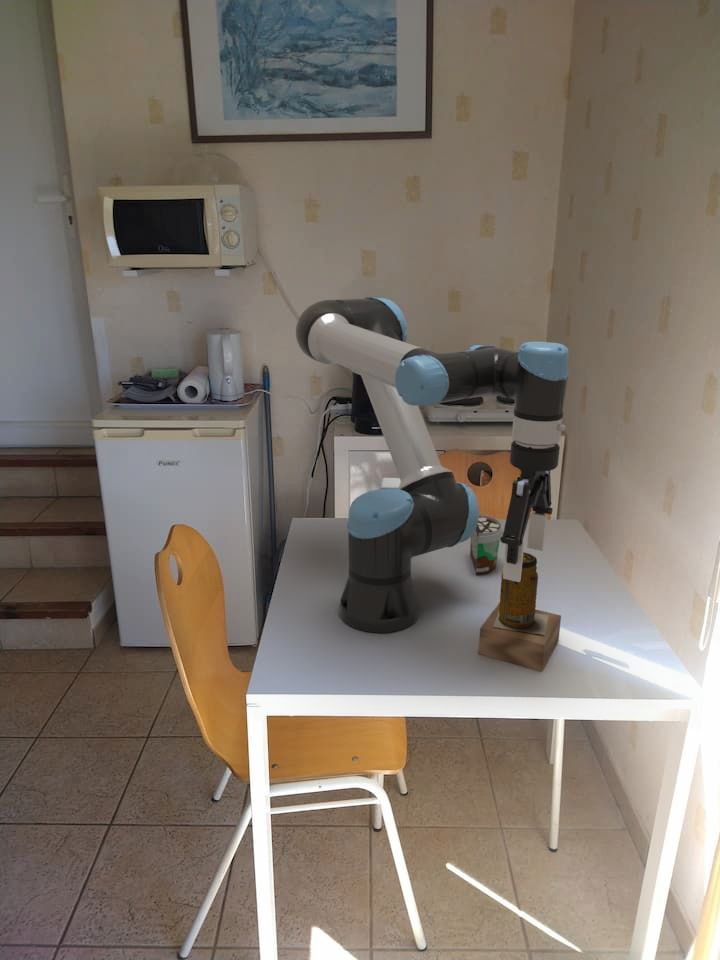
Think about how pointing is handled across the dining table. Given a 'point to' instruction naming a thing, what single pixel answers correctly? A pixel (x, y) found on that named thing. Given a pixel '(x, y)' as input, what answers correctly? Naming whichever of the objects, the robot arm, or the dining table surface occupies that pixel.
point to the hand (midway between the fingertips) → (524, 563)
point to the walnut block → (519, 642)
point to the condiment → (521, 601)
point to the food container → (485, 544)
